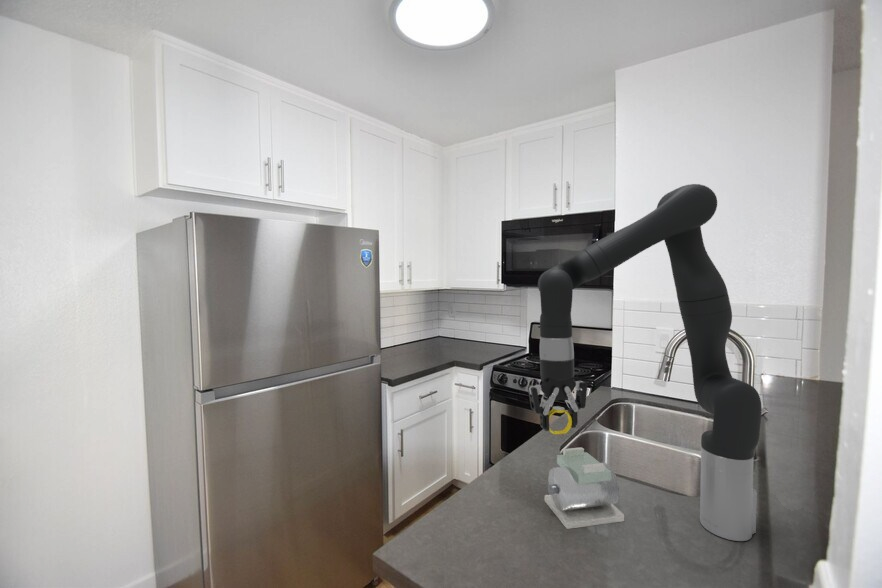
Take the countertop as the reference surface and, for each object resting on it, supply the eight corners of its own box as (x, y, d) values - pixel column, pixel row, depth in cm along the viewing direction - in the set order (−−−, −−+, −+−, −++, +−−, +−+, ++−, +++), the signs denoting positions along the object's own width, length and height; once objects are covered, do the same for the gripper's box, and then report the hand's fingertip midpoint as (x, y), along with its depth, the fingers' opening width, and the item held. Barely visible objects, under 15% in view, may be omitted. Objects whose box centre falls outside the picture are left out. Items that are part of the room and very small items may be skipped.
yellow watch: (567, 430, 92) (568, 405, 92) (573, 435, 89) (574, 409, 89) (543, 431, 91) (544, 406, 91) (548, 436, 89) (549, 410, 88)
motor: (596, 494, 99) (596, 444, 99) (624, 521, 88) (624, 464, 88) (539, 501, 96) (539, 449, 96) (560, 529, 86) (560, 471, 85)
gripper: (576, 350, 95) (578, 419, 95) (520, 355, 92) (523, 425, 93) (594, 356, 87) (596, 430, 88) (534, 361, 85) (536, 438, 85)
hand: (558, 428), depth 90 cm, fingers closed on yellow watch, 6 cm apart
